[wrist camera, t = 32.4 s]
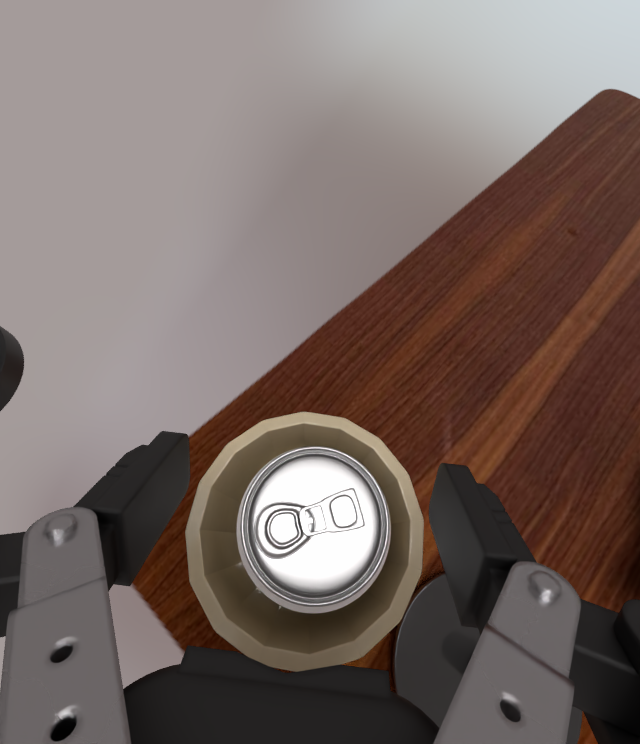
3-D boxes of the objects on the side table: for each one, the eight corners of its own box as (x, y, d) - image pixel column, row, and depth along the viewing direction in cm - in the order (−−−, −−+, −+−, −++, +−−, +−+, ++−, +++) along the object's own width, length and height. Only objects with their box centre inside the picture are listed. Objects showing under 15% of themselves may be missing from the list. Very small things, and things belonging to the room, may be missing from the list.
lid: (358, 706, 21) (374, 761, 16) (433, 533, 25) (466, 532, 20) (537, 842, 19) (622, 954, 14) (589, 630, 23) (669, 657, 18)
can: (252, 496, 25) (216, 457, 15) (342, 472, 26) (369, 419, 16) (272, 602, 23) (245, 650, 12) (370, 571, 24) (427, 589, 13)
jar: (202, 557, 24) (134, 569, 15) (286, 432, 28) (275, 376, 18) (332, 653, 22) (351, 738, 13) (404, 504, 26) (459, 485, 16)
